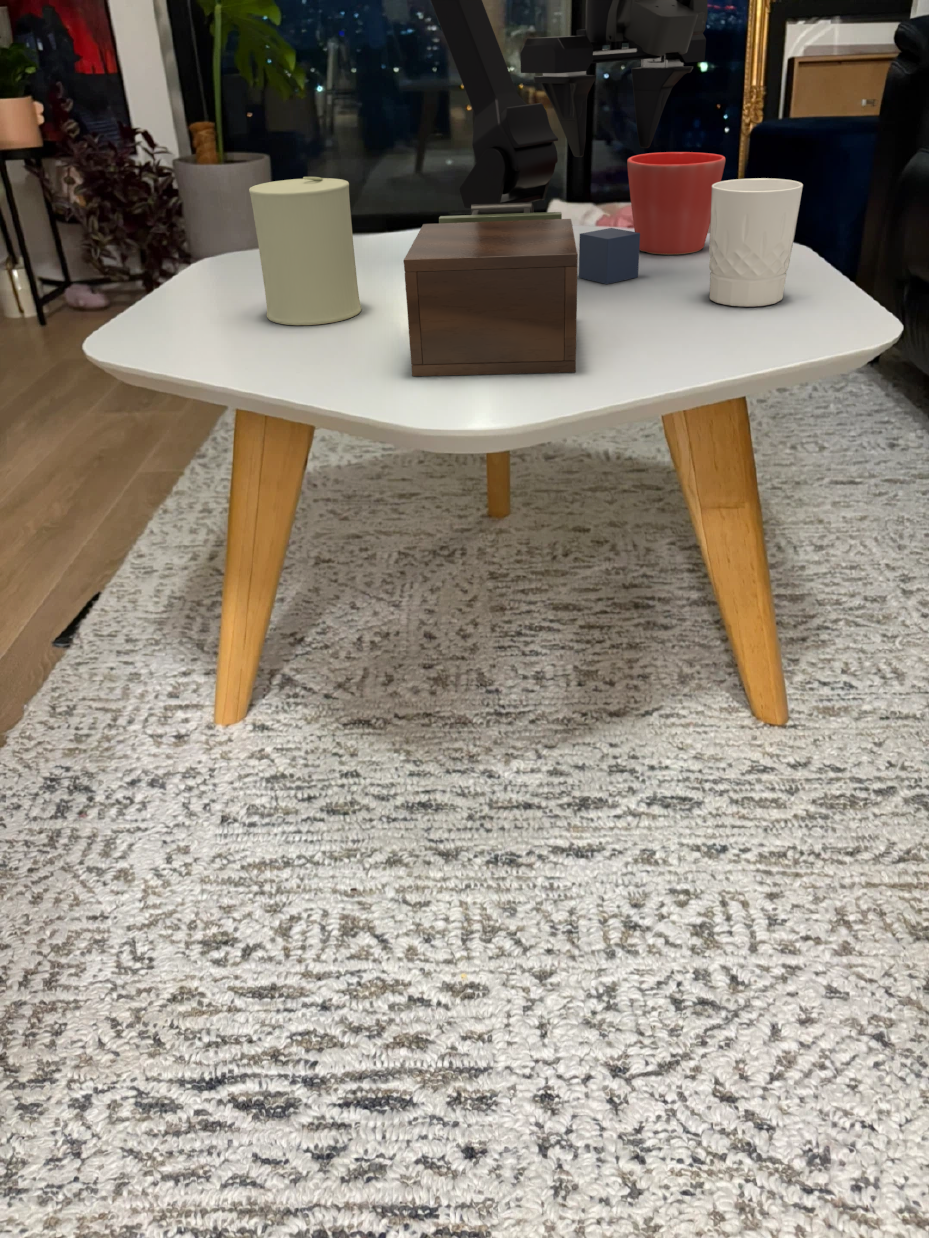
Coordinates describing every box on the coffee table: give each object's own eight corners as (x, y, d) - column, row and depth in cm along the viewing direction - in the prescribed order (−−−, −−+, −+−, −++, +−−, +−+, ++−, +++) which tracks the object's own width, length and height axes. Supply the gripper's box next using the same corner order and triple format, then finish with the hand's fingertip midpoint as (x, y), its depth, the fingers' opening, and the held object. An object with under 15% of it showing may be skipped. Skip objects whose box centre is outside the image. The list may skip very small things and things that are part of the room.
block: (578, 277, 103) (579, 233, 101) (610, 271, 105) (611, 227, 103) (606, 284, 100) (607, 239, 98) (638, 277, 102) (640, 233, 100)
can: (376, 303, 98) (365, 172, 91) (337, 327, 90) (321, 187, 84) (294, 299, 100) (277, 172, 94) (249, 323, 93) (228, 187, 87)
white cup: (791, 309, 89) (807, 190, 83) (702, 309, 90) (712, 192, 85) (785, 288, 95) (799, 177, 90) (702, 288, 97) (711, 179, 91)
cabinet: (429, 326, 89) (423, 224, 85) (569, 322, 88) (571, 218, 84) (412, 376, 77) (403, 259, 72) (575, 372, 76) (577, 253, 71)
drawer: (447, 279, 101) (443, 204, 97) (559, 276, 100) (560, 200, 96) (431, 326, 85) (426, 239, 82) (564, 323, 85) (565, 235, 81)
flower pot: (737, 250, 111) (746, 157, 106) (652, 262, 108) (657, 166, 103) (687, 236, 120) (693, 148, 115) (607, 246, 117) (610, 157, 112)
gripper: (599, -44, 78) (594, 169, 86) (758, -46, 87) (740, 147, 95) (515, -34, 86) (518, 160, 94) (668, -37, 95) (659, 141, 103)
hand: (612, 152), depth 96 cm, fingers open, 8 cm apart
